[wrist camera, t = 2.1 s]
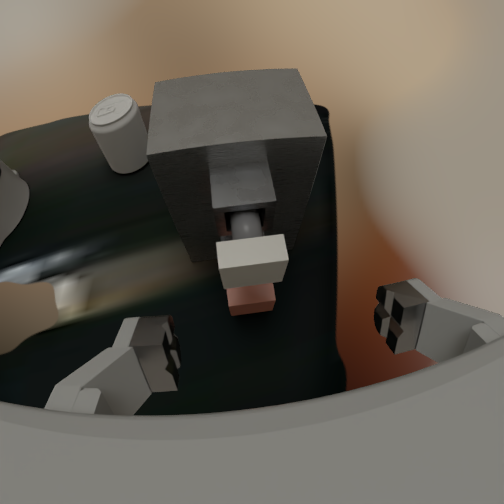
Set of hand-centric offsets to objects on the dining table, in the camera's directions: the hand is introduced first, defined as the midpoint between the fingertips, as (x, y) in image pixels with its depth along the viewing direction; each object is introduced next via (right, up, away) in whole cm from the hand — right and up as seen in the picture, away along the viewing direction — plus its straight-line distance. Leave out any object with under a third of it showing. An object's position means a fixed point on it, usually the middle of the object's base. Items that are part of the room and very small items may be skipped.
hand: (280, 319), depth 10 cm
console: (-3, +4, +34) cm, 34 cm away
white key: (-1, +2, +17) cm, 17 cm away
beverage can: (-22, +19, +40) cm, 49 cm away
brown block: (-1, -2, +27) cm, 27 cm away
